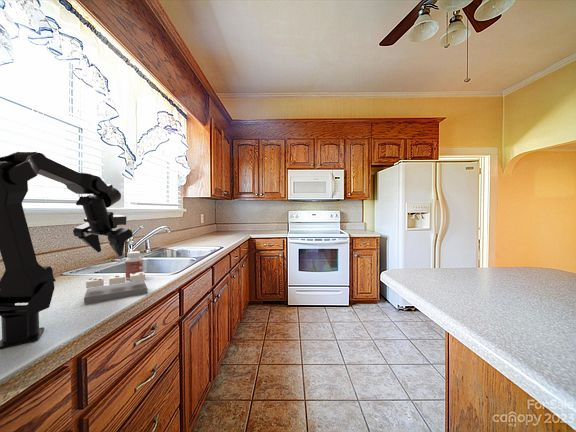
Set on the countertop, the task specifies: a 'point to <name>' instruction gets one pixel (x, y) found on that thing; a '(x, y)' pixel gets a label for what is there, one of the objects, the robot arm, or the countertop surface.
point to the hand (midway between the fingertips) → (110, 253)
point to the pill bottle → (133, 263)
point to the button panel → (114, 291)
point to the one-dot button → (116, 279)
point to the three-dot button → (95, 282)
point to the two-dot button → (137, 276)
